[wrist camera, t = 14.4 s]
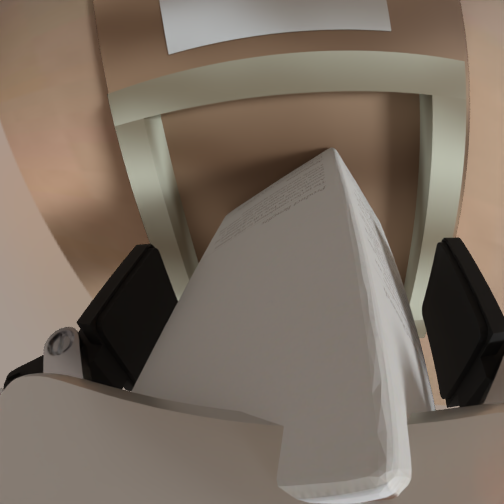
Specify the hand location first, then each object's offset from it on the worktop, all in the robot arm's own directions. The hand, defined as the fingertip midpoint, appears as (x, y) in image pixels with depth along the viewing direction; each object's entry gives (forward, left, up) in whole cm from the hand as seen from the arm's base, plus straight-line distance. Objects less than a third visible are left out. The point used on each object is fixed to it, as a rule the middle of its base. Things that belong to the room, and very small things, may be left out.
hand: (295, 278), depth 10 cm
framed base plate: (-3, 0, -6) cm, 7 cm away
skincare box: (0, 0, -5) cm, 5 cm away
